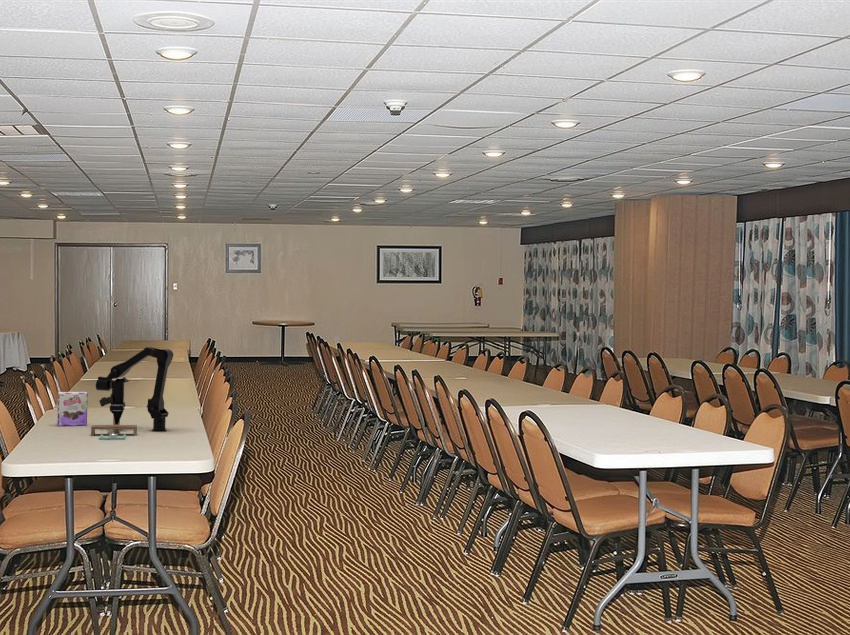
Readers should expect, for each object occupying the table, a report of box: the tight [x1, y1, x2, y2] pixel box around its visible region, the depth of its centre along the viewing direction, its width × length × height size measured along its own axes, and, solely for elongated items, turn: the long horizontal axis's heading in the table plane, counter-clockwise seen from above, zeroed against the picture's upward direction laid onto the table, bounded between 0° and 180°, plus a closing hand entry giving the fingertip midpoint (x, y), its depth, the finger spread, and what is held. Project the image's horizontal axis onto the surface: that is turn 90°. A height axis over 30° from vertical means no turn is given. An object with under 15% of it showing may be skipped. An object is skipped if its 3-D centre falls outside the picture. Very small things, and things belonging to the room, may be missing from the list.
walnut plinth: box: [90, 424, 138, 437], centre depth 462 cm, size 6×20×4 cm, turn 104°
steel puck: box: [108, 433, 119, 438], centre depth 456 cm, size 4×4×2 cm
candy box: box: [56, 391, 89, 427], centre depth 490 cm, size 14×6×16 cm, turn 112°
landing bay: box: [98, 434, 127, 441], centre depth 452 cm, size 11×11×1 cm
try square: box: [107, 415, 122, 435], centre depth 475 cm, size 22×5×9 cm, turn 14°
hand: (117, 423), depth 483 cm, fingers open, 9 cm apart
